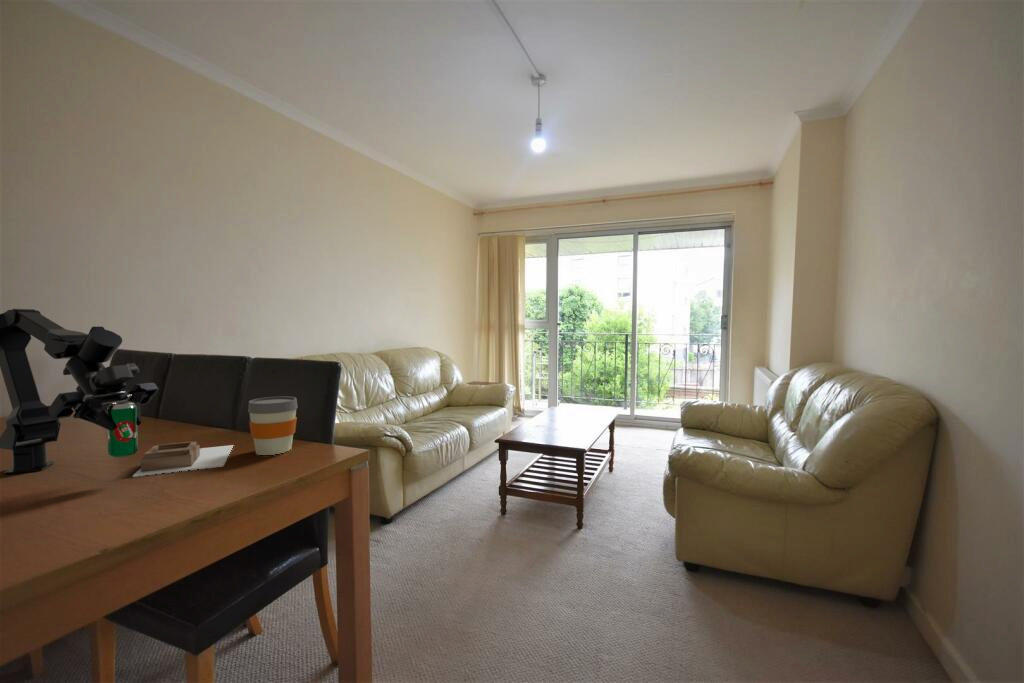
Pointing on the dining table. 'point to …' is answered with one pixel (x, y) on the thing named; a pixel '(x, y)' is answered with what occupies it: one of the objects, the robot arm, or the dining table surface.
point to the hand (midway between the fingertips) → (126, 426)
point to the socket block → (170, 456)
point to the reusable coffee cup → (272, 424)
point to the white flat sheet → (198, 461)
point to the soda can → (122, 429)
